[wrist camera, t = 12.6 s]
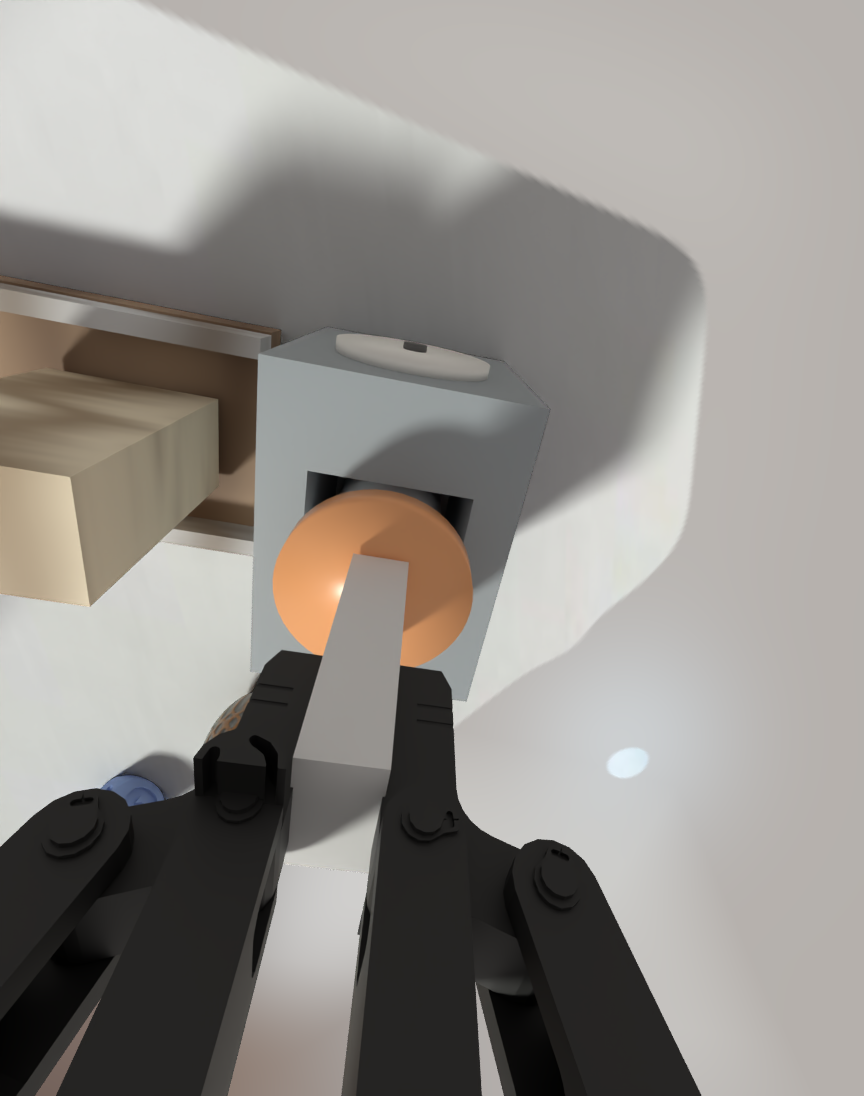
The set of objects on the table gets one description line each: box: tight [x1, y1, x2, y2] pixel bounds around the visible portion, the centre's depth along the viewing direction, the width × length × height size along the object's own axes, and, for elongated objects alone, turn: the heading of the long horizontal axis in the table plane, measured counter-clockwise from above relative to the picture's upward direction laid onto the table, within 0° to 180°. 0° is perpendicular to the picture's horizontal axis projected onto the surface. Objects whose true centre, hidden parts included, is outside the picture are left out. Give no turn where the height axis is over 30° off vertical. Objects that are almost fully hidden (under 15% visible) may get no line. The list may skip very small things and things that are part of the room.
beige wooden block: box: [0, 368, 219, 607], centre depth 18 cm, size 7×4×10 cm, turn 80°
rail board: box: [0, 275, 281, 556], centre depth 22 cm, size 20×10×3 cm, turn 80°
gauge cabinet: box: [250, 327, 550, 701], centre depth 20 cm, size 8×12×10 cm
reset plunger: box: [273, 478, 473, 667], centre depth 18 cm, size 6×6×8 cm
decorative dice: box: [101, 775, 164, 806], centre depth 35 cm, size 4×4×4 cm
